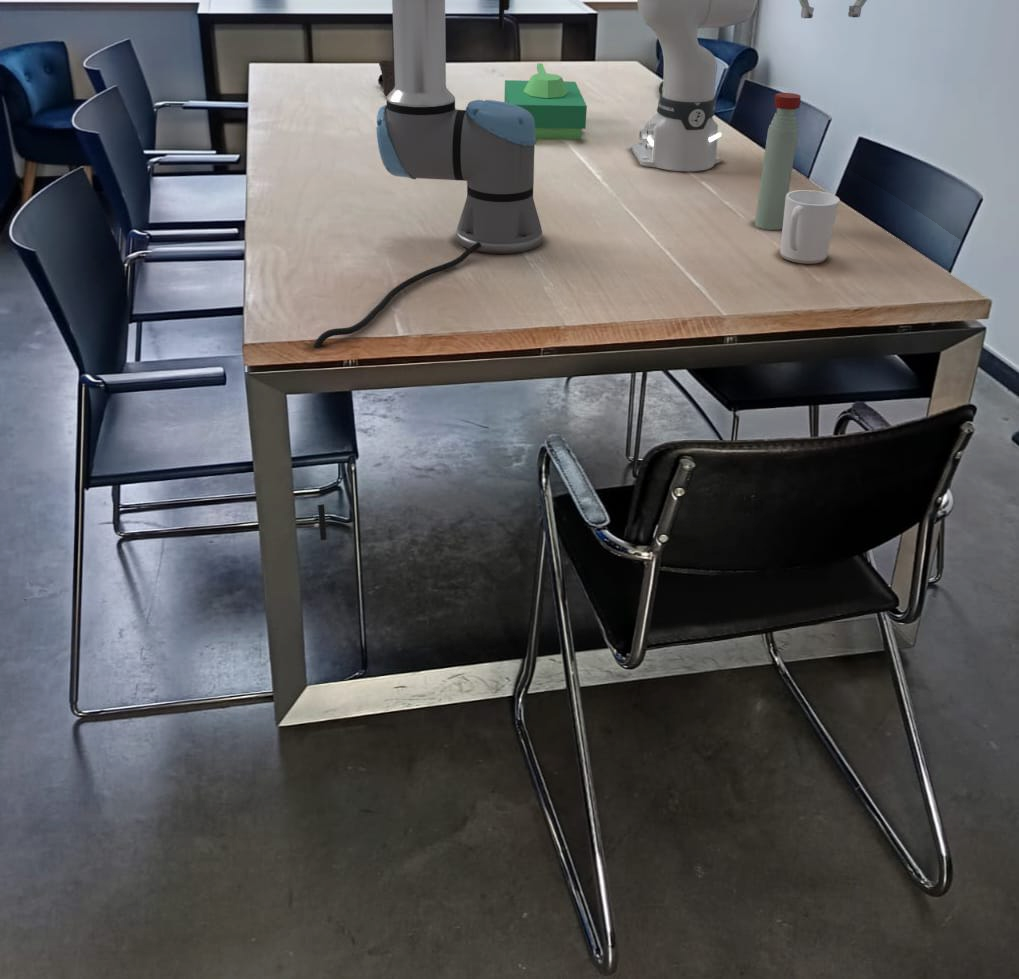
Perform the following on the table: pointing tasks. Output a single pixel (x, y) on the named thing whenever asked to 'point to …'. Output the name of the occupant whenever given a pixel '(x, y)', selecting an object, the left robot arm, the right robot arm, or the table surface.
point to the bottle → (777, 169)
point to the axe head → (387, 76)
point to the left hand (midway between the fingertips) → (468, 26)
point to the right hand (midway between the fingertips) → (830, 17)
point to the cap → (787, 101)
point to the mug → (808, 225)
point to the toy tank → (550, 105)
